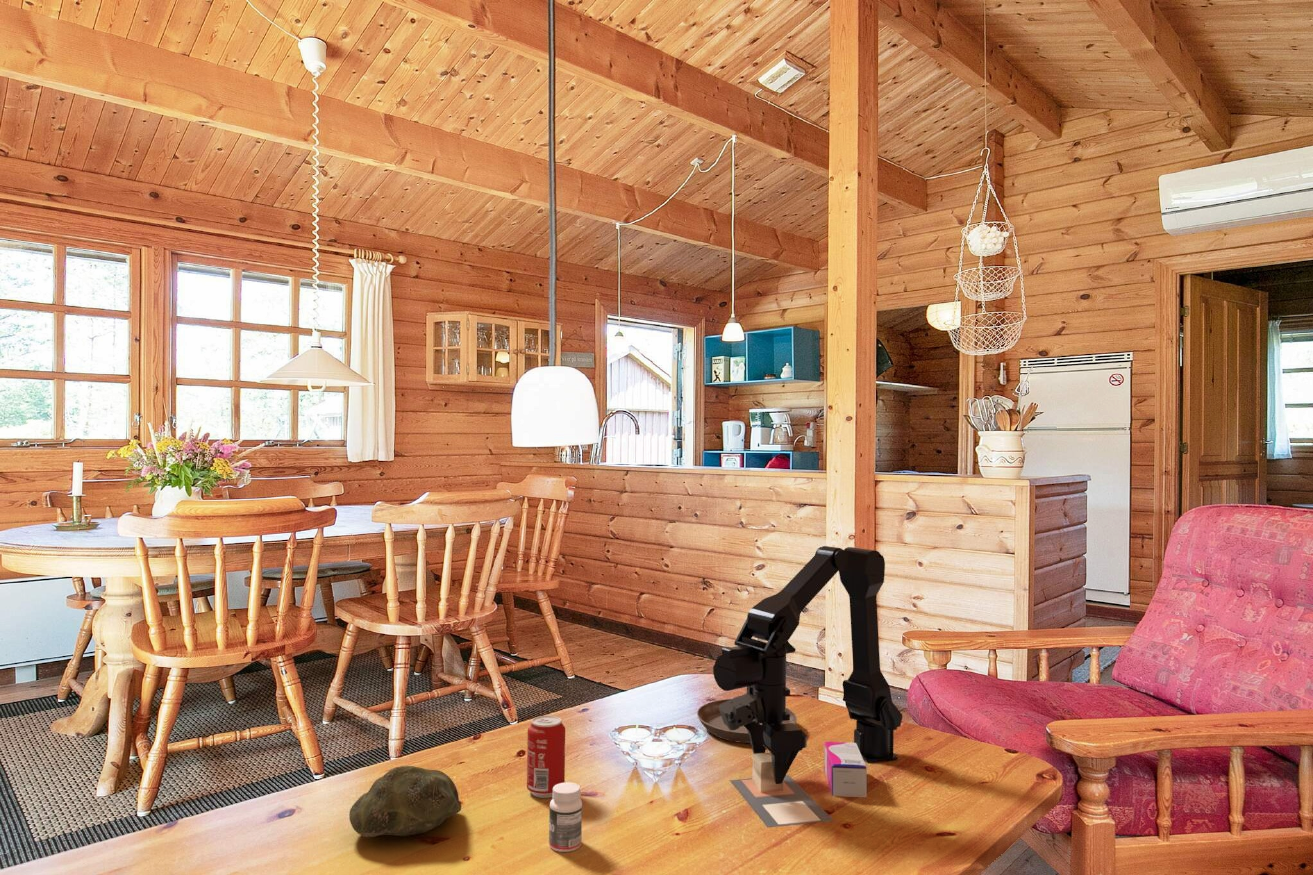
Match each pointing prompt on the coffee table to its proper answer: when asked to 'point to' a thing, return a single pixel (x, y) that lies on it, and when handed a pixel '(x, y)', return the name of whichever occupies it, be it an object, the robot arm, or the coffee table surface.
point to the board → (782, 804)
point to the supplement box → (845, 769)
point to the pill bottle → (565, 818)
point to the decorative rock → (405, 803)
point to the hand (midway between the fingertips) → (768, 772)
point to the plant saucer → (716, 726)
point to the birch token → (764, 773)
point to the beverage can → (545, 755)
